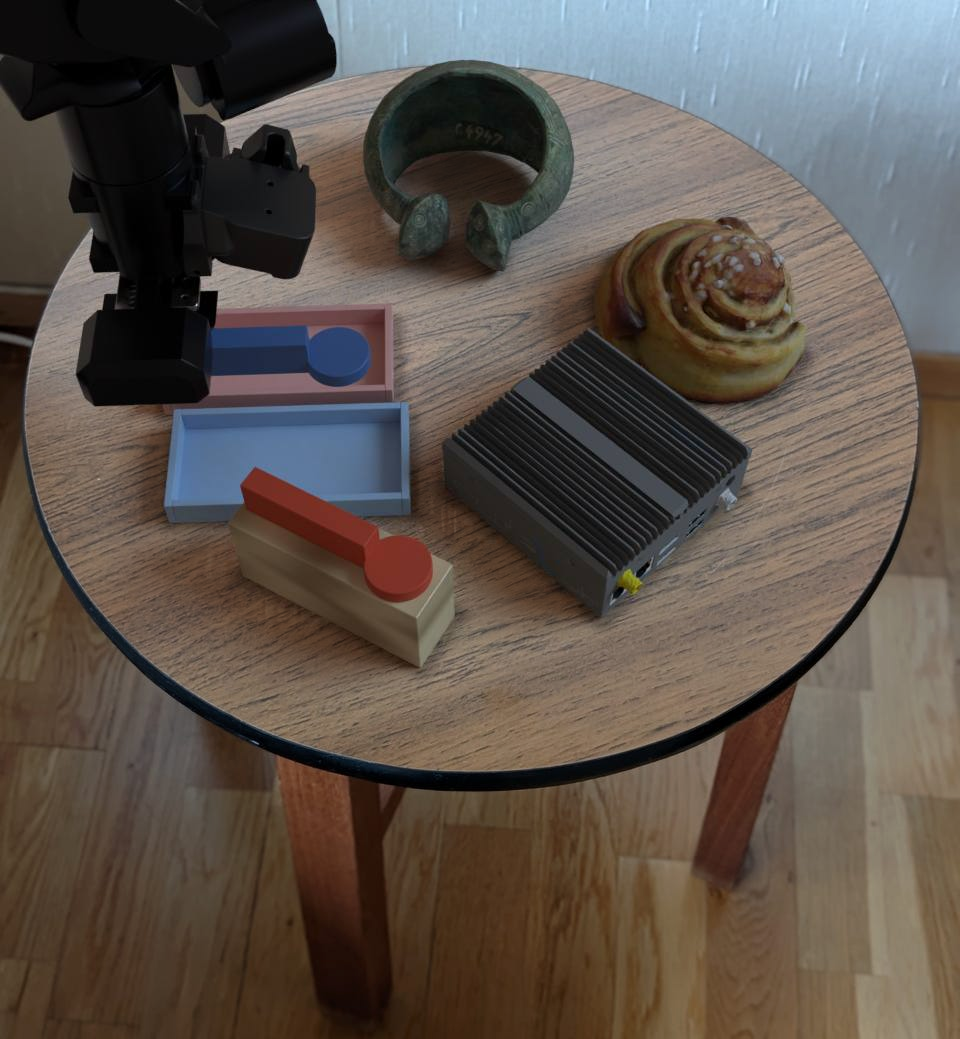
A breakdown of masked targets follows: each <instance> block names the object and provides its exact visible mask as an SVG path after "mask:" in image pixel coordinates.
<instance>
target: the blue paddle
mask: <svg viewBox="0 0 960 1039" xmlns="http://www.w3.org/2000/svg"><path fill="white" fill-rule="evenodd" d="M211 335H212V349H213V359H212V371H211V376H230V375H260V374H290V373H309V374H310V375H311V377H312V378H313V379H315V380H316V381H317V382H319V383H321V384H323V385H326V386H331V387H343V386H348V385H351V384H353V383H355V382H357V381H359V380H360V379H361V378H363V377H364V376H365V374H366V373H367V371H368V370H369V367H370V364H371V355H370V347H369V344H368V342H367V340H366V339H365V338H364V336H363V335H361V334H360V333H359V332H357V331H355V330H353V329H350V328H345V327H333V328H328V329H325V330H322V331H320V332H318V333H317V334H315V335H314V336H313V337H312V338H311V339H310V340H309V335H308V328H307V326H306V325H304V326H274V327H243V328H213V330H212V331H211Z"/></svg>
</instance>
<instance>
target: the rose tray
mask: <svg viewBox="0 0 960 1039" xmlns="http://www.w3.org/2000/svg"><path fill="white" fill-rule="evenodd" d="M393 311H394V310H393V303H364V304H363V303H360V304H358V303H357V304H330V305H329V304H327V305H297V306H296V305H295V306H294V305H293V306H291V305H290V306H267V307H266V306H262V307H261V306H260V307H257V306H256V307H228V308H217V313H216V323H215V327H214V328H243V327H274V326H304V325H306V326H307V328H308V335H309V340H310V339H311V338H312V337H313V336H314V335H315V334H317V333H318V332H320V331H322V330H325V329H328V328H333V327H345V328H350V329H353V330H355V331H357V332H359V333H360V334H361V335H363V336H364V338H365V339H366V340H367V342H368V344H369V347H370V355H371V364H370V367H369V370H368V371H367V373H366V374H365V376H364V377H363V378H361V379H360V380H359V381H357V382H355V383H353V384H351V385H348V386H343V387H331V386H326V385H323V384H321V383H319V382H317V381H316V380H315V379H313V378H312V377H311V375H310V374H309V373H290V374H260V375H230V376H211V383H210V394H209V395H208V396H206V397H205V398H204V399H202V400H201V401H200V402H199V403H189V404H161V405H162V409H163V410H164V415H165V416H173V414H174V410H175V409H181V410H182V409H204V408H236V407H267V406H299V405H330V404H362V403H393V402H395V378H394V377H395V366H394V365H395V357H394V356H395V354H394V352H395V350H394V345H395V343H394V312H393Z"/></svg>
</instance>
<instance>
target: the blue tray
mask: <svg viewBox="0 0 960 1039" xmlns="http://www.w3.org/2000/svg"><path fill="white" fill-rule="evenodd" d="M172 416H173V417H172V426H171V435H170V445H169V453H168V463H167V471H166V479H165V480H166V481H165V490H164V499H163V500H164V501H163V508H164V511H165V514H166V516H167V519H168V523H169V524H184V523H213V522H216V523H217V522H228V521H229V520H230V519H231V518H232V516H233V515H234V514H235V513H236V512H237V510H238V509H239V508H240V507H241V505H242V504H243V503H244V499H243V495H242V491H241V488H240V484H241V483H242V482H243V481H244V479H245V478H246V477H247V476H248V475H249V473H250V472H251V471H252V470H253V468H254V467H257V468H259V469H261V470H263V471H265V472H267V473H269V474H271V475H273V476H275V477H277V478H279V479H281V480H283V481H285V482H288V483H290V484H292V485H294V486H296V487H298V488H300V489H302V490H304V491H306V492H308V493H310V494H312V495H314V496H316V497H318V498H320V499H322V500H324V501H326V502H328V503H330V504H332V505H334V506H336V507H338V508H340V509H342V510H345V511H347V512H349V513H351V514H353V515H355V516H357V517H359V518H365V517H389V516H390V517H391V516H392V517H393V516H411V514H412V510H411V509H412V508H411V507H412V506H411V500H412V499H411V440H410V439H411V438H410V437H411V436H410V434H411V433H410V409H409V401H398V402H396V401H394V402H393V403H362V404H330V405H299V406H267V407H236V408H204V409H182V410H181V409H175V410H174V414H173V415H172Z"/></svg>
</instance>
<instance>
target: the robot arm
mask: <svg viewBox="0 0 960 1039" xmlns="http://www.w3.org/2000/svg"><path fill="white" fill-rule="evenodd" d="M336 46H337V45H336V40H335V38H334V37H333V35H332V34H331V33H330V32H329V29H328V25H327V23H326V20H325V17H324V13H323V10H322V9H321V7H320V4H319V2H318V0H0V56H2V57H1V58H0V89H1V90H2V92H3V93H4V94H5V96H6V97H7V99H8V100H9V101H10V103H11V104H12V106H13V107H14V108H15V110H16V112H17V113H18V114H19V116H20V118H22V120H24V121H26V122H34V121H37V120H39V119H41V118H43V117H46V116H49V115H52V114H53V113H54V116H55V119H56V123H57V125H58V129H59V131H60V134H61V137H62V140H63V143H64V147H65V149H66V153H67V155H68V158H69V162H70V165H71V168H72V174H71V180H70V185H69V191H68V196H67V198H68V202H69V204H70V207H71V210H72V213H73V214H87V217H88V219H89V222H90V226H91V229H92V235H91V236H92V238H91V244H90V250H89V256H88V257H89V258H88V261H89V263H90V267H91V270H92V273H93V274H103V273H105V274H106V273H119V275H118V276H119V277H118V282H117V290H116V293H104V295H103V302H102V307H101V308H102V309H97V310H96V311H95V312H93V313H92V314H91V315H90V316H89V317H88V318H87V319H86V320H85V321H83V324H82V330H81V337H80V343H79V351H78V355H77V356H78V357H77V362H76V369H75V377H76V379H77V382H78V385H79V388H80V391H81V392H82V395H83V398H84V399H85V400H86V401H87V402H89V403H90V404H91V405H92V406H93V407H96V408H97V407H122V406H123V407H124V406H127V407H128V406H155V405H156V406H159V405H162V404H189V403H199V402H200V401H201V400H202V399H204V398H205V397H206V396H208V395H209V394H210V383H211V371H212V359H213V349H212V335H211V331H212V330H213V328H214V327H215V323H216V313H217V309H218V299H219V290H217V289H216V290H202V278H201V277H212V274H213V264H214V263H213V262H214V260H216V261H217V262H219V263H222V264H224V265H227V266H231V267H237V268H241V269H246V270H250V271H256V272H260V273H264V274H269V275H271V276H272V277H273V278H275V279H279V280H293V279H295V278H296V277H298V276H299V275H300V274H301V270H302V267H303V265H304V262H305V259H306V257H307V253H308V251H309V248H310V245H311V242H312V241H313V240H312V239H313V237H314V235H315V231H316V212H317V186H316V184H315V181H314V180H313V179H312V178H311V176H310V164H309V165H308V164H305V163H302V164H301V166H299V164H298V153H297V150H296V146H295V143H294V139H293V135H292V132H291V131H290V130H289V129H288V128H284V127H280V126H276V125H271V124H267V123H265V124H263V125H261V126H260V127H259V128H258V129H257V130H256V131H254V132H253V133H252V134H251V135H249V137H248V138H247V139H245V140H244V142H242V145H241V148H239V147H235V146H233V148H232V152H231V151H230V150H231V149H230V145H229V140H228V135H227V130H226V126H225V125H223V124H222V123H220V122H219V121H218V120H216V119H215V118H213V117H212V116H210V115H208V114H207V113H189V114H187V113H186V114H184V112H183V108H182V103H181V99H180V95H179V90H178V85H177V81H176V78H175V77H177V79H178V81H179V83H180V85H181V87H182V89H183V90H184V92H185V94H186V95H187V97H188V98H189V99H190V101H191V102H192V103H193V104H194V105H195V106H196V107H198V108H203V107H205V106H208V105H211V106H212V107H213V109H214V110H215V111H216V112H217V113H218V116H219V118H220V120H221V121H226V120H231V119H234V118H236V117H238V116H242V115H243V114H246V113H248V112H250V111H253V110H255V109H258V108H261V107H263V106H265V105H267V104H270V103H273V102H275V101H277V100H280V99H283V98H284V97H287V96H289V95H292V94H295V93H297V92H299V91H302V90H304V89H306V88H309V87H311V86H313V85H316V84H318V83H321V82H324V81H326V80H328V79H330V78H332V77H333V76H334V74H335V73H336V70H337V64H338V58H337V57H338V53H337V47H336ZM175 75H176V76H175Z"/></svg>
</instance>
